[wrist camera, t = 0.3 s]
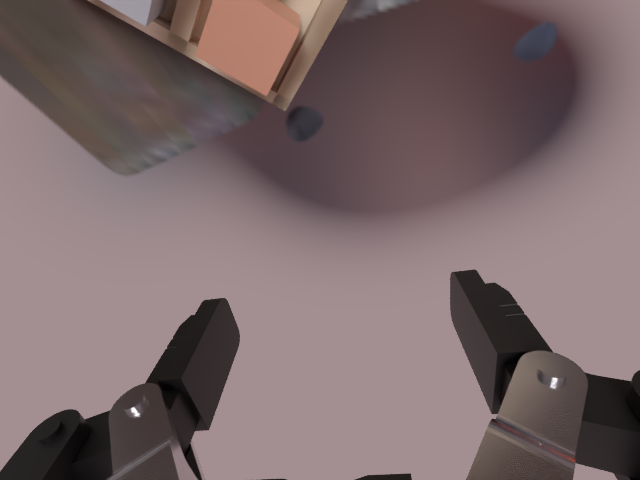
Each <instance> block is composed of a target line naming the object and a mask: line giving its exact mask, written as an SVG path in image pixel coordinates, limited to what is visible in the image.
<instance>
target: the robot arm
mask: <svg viewBox="0 0 640 480" xmlns="http://www.w3.org/2000/svg"><path fill="white" fill-rule="evenodd" d="M450 289H451V290H450V292H451V293H450V294H451V295H450V307H451V308H450V309H451V317H452V321H453V324H454V327H455V329H456V332H457V334H458V336H459V339H460V341H461V343H462V346H463V348H464V350H465V353H466V355H467V357H468V360H469V362H470V364H471V367H472V369H473V371H474V374H475V376H476V378H477V381H478V383H479V385H480V388H481V390H482V392H483V395H484V397H485V399H486V402H487V404H488V406H489V408H490V411H491V413H492V414H498V415H497V417H496V419H495V420H494V419H492V420H491V421H490V423H489V425H488V427H487V430H486V432H485V435H484V437H483V439H482V442H481V444H480V447H479V450H478V452H477V454H476V457H475V459H474V462H473V464H472V467H471V469H470V472H469V475H468V477H467V479H466V480H573V474H574V469H575V463H578V464H582V465H585V466H589V467H593V468H597V469H600V470H604V471H608V472H612V473H614V474H615V476H616V478H617V479H618V480H640V370H639V371H638V372H636V373H635V374H634V376H633V378H632V381H625V380H619V379H614V378H608V377H602V376H596V375H591V374H588V373H585V372H583V370H582V369H581V368H580V367H579V366H578V365H577V364H576V363H574V362H573V361H571V360H570V359H568V358H566V357H564V356H562V355H560V354H557V353H553V351H552V350H551V349H550V347H549V346H548V345H547V343H546V342H545V340H544V339H543V338H542V336H541V335H540V334H539V332H538V331H537V329H536V328H535V327H534V326H533V324H532V323H531V321H530V320H529V318H528V317H527V316H526V315H525V314H524V312H523V310H522V309H521V308H520V306H518V305H517V302H516V301H515V299H514V298H513V297H512V295H511V294H510V293H509V291H507V290H505V289H504V288H502V287H501V286H499V285H498V284H496V283H488V284H485V283H484V281H483V280H482V278H481V277H480V275H479V274H478V272H477V271H476V270H467V271H458V272H452V273H451V278H450ZM239 342H240V334H239V329H238V327H237V324H236V321H235V319H234V316H233V313H232V311H231V308H230V306H229V303H228V301H227V300H226V299H225V298H219V299H211V300H204V301H203V302H202V303H201V305H200V307H199V308H198V310H197V312H196V314H195V315H191V316H190V317H189V318H188V319H187V320H186V321H185V322H183V323H182V324H181V325H180V327H179V328H178V330H177V331H176V333H175V335H174V336H173V339H172V340H171V341H170V343H169V345H168V346H167V349H166V350H165V352H164V353H163V355H162V356H161V358H160V360H159V361H158V363H157V364H156V366H155V368H154V369H153V371H152V373H151V374H150V376H149V378H148V379H147V381H146V383H145V384H141V385H138V386H136V387H134V388H132V389H130V390H129V391H127V392H126V393H125V394H123V395H122V396H121V397H120V398H119V399H118V400H117V401H116V403H115V404H114V405H113V407H112V409H111V410H110V411H107V412H105V413H102V414H99V415H96V416H93V417H91V418H88V419H85V420H84V418H83V417H82V416H81V415H80V413H79V412H78V411H76V410H64V411H61V412H59V413H56V414H54V415H53V416H51V417H50V418H48V419H46V420H45V421H43V422H42V423H41V424H40V425H38V426H37V427H36V428H35V429H34V430H33V431H32V432H31V433H30V434H29V436H28V437H27V438H26V439H25V441H24V442H23V443H22V445H21V446H20V447H19V448H18V450H17V451H16V452H15V453H14V455H13V456H12V457H11V459H10V460H9V461H8V462H7V464H6V465H5V466H4V467H3V469H2V470H1V472H0V480H205V478H204V475H203V472H202V469H201V466H200V463H199V460H198V457H197V454H196V451H195V448H194V445H193V443H192V441H191V439H192V437H193V434H194V432H195V431H200V430H201V431H202V430H209V428H210V425H211V423H212V420H213V416H214V414H215V411H216V409H217V406H218V403H219V400H220V397H221V394H222V392H223V389H224V386H225V383H226V380H227V378H228V375H229V372H230V369H231V366H232V363H233V361H234V357H235V355H236V352H237V350H238V347H239ZM263 480H286V479H263ZM356 480H412V479H411V474H390V475H367V476H364V477H362V478H358V479H356Z"/></svg>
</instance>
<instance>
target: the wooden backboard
mask: <svg viewBox="0 0 640 480" xmlns="http://www.w3.org/2000/svg"><path fill="white" fill-rule="evenodd" d="M88 1H90V2H91V3H93V4H95V5H97V6H98V7H100V8H102V9H104V10H106V11H107V12H109V13H111V14H113V15H114V16H116V17H118V18H120V19H122V20H123V21H125V22H127V23H129V24H130V25H132V26H134V27H136V28H138V29H139V30H141V31H143V32H145V33H146V34H148V35H150V36H152V37H154V38H155V39H157V40H159V41H161V42H162V43H164V44H166V45H168V46H170V47H171V48H173V49H175V50H177V51H178V52H180V53H182V54H184V55H186V56H187V57H189V58H191V59H193V60H194V61H196V62H198V63H200V64H202V65H203V66H205V67H207V68H209V69H210V70H212V71H214V72H216V73H218V74H219V75H221V76H223V77H225V78H227V79H228V80H230V81H232V82H234V83H235V84H237V85H239V86H241V87H243V88H244V89H246V90H248V91H250V92H251V93H253V94H255V95H257V96H259V97H260V98H262V99H264V100H266V101H267V102H269V103H271V104H273V105H275V106H276V107H278V108H280V109H282V110H284V111H286V110H287V108H288V106H289V105H290V103H291V101H292V99H293V97H294V96H295V94H296V92H297V90H298V88H299V87H300V85H301V83H302V81H303V80H304V78H305V76H306V74H307V72H308V71H309V69H310V67H311V65H312V64H313V62H314V60H315V58H316V56H317V54H318V53H319V51H320V49H321V47H322V46H323V44H324V42H325V40H326V39H327V37H328V34H329V33H330V31H331V30H332V28H333V26H334V24H335V22H336V21H337V19H338V17H339V15H340V14H341V12H342V10H343V8H344V6H345V5H346V3H347V1H348V0H279V1H281V2H282V3H284V4H285V5H286V6H288V7H289V8H291V9H292V10H293V11H295V12H296V13H298V14H299V15H300V31H299V33H298V35H297V37H296V39H295V41H294V43H293V45H292V47H291V49H290V51H289V53H288V55H287V57H286V59H285V61H284V63H283V65H282V67H281V69H280V71H279V73H278V75H277V77H276V79H275V81H274V83H273V85H272V87H271V89H270V91H269V93H268V95H267V96H265V95H263V94H262V93H260V92H258V91H256V90H255V89H253V88H251V87H249V86H247V85H246V84H244V83H242V82H240V81H239V80H237V79H235V78H233V77H232V76H230V75H228V74H226V73H225V72H223V71H221V70H219V69H218V68H216V67H214V66H212V65H211V64H209V63H207V62H205V61H204V60H202V59H200V58H198V57H196V56H195V53H196V50H197V47H198V44H199V41H200V38H201V35H202V32H203V29H204V26H205V23H206V20H207V17H208V14H209V11H210V8H211V5H212V2H213V0H167V2H166V6H165V10H164V12H163V13H162V14H160V15H159V16H158V17H157V18H156V19H154V20H153V21H152V22H151V23H150V24H148V25H147V26H144V25H142V24H140V23H139V22H137V21H135V20H133V19H132V18H130V17H128V16H126V15H125V14H123V13H121V12H119V11H118V10H116V9H114V8H112V7H111V6H109V5H107V4H105V3H104V2H102V1H100V0H88Z"/></svg>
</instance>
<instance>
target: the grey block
mask: <svg viewBox="0 0 640 480" xmlns="http://www.w3.org/2000/svg"><path fill="white" fill-rule="evenodd" d="M100 1H102V2H104V3H105V4H107V5H109V6H111V7H112V8H114V9H116V10H118V11H119V12H121V13H123V14H125V15H126V16H128V17H130V18H132V19H133V20H135V21H137V22H139V23H140V24H142V25H144V26H147V25H148V24H150V23H151V22H152V21H153V20H154V19H156V18H157V17H158V16H159V15H160V14H162V13H163V12H164V10H165V6H166V2H167V0H100Z"/></svg>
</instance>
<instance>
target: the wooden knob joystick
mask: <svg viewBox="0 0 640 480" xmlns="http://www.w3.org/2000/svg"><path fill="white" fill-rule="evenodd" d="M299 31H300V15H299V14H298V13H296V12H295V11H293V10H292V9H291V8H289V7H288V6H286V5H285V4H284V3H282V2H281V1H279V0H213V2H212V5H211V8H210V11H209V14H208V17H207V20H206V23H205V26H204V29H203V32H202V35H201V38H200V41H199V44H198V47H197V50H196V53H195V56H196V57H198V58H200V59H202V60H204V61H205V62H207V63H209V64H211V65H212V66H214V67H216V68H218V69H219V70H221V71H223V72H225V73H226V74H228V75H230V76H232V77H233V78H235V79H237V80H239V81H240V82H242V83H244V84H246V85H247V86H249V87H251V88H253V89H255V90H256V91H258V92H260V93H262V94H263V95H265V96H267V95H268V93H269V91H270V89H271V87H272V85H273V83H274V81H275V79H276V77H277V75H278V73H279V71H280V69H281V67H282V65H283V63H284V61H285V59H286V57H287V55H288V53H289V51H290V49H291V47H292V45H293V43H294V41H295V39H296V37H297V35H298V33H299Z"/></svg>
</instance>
